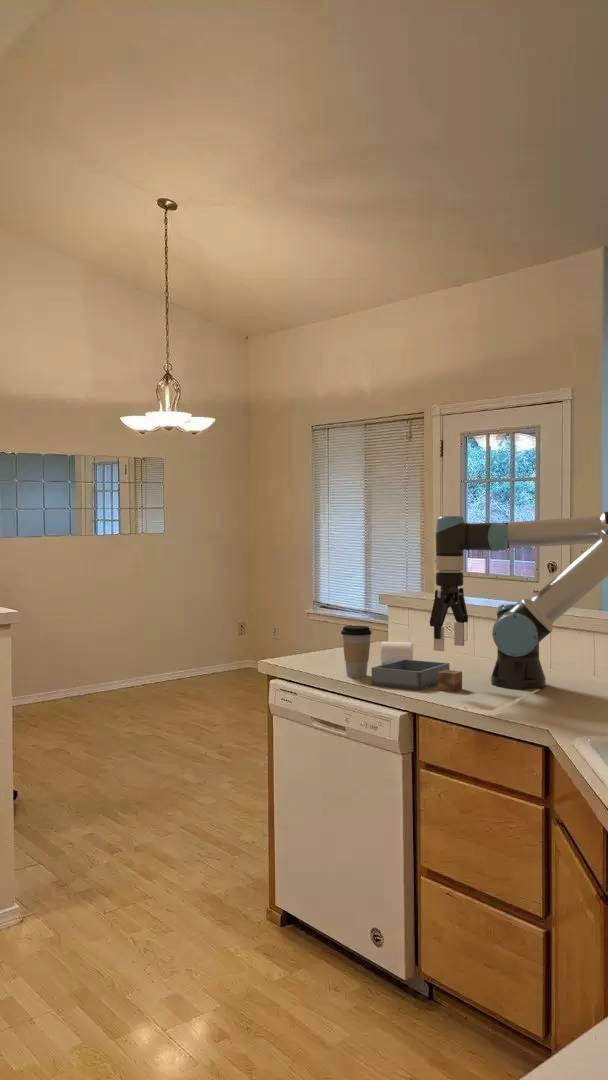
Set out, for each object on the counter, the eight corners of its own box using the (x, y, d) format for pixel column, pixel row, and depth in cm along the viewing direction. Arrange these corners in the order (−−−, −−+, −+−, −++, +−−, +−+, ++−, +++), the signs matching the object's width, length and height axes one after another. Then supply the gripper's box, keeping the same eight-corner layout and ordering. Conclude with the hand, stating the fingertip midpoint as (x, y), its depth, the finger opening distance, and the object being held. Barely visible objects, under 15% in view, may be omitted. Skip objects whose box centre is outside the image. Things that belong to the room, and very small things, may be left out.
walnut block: (462, 689, 237) (462, 671, 237) (454, 692, 233) (454, 673, 233) (445, 687, 240) (445, 669, 240) (437, 690, 236) (437, 672, 236)
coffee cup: (370, 679, 254) (370, 628, 254) (339, 678, 255) (339, 628, 255) (373, 674, 263) (373, 625, 263) (342, 673, 265) (342, 625, 265)
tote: (449, 680, 252) (449, 663, 252) (419, 690, 235) (419, 672, 235) (403, 675, 260) (403, 659, 260) (371, 685, 244) (371, 667, 244)
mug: (411, 668, 274) (411, 643, 274) (380, 667, 276) (380, 643, 276) (414, 663, 286) (414, 639, 286) (384, 662, 288) (384, 638, 288)
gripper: (455, 569, 249) (455, 642, 249) (417, 572, 228) (416, 652, 228) (479, 570, 245) (479, 644, 245) (443, 573, 224) (442, 654, 224)
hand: (449, 648), depth 237 cm, fingers open, 13 cm apart
